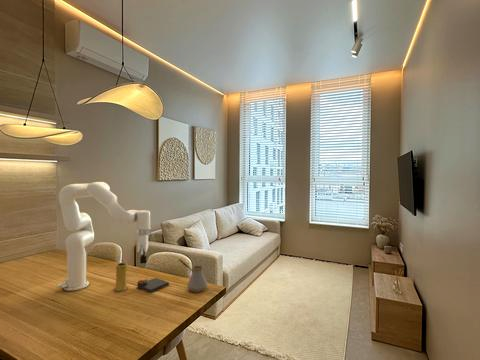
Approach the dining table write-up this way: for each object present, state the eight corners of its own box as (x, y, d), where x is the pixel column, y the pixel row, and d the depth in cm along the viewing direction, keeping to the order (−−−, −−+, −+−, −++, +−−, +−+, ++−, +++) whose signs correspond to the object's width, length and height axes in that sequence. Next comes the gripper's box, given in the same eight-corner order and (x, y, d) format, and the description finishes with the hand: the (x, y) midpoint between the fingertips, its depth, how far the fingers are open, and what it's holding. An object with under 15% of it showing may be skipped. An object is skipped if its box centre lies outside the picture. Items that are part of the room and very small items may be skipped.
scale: (149, 293, 146) (149, 287, 146) (135, 287, 153) (135, 281, 153) (168, 285, 157) (168, 279, 157) (154, 280, 164) (154, 274, 164)
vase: (117, 286, 154) (117, 262, 154) (128, 286, 154) (128, 262, 154) (113, 291, 148) (113, 266, 148) (124, 291, 148) (125, 266, 148)
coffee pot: (211, 288, 154) (211, 263, 154) (197, 295, 144) (198, 268, 144) (185, 280, 165) (185, 256, 165) (171, 286, 156) (171, 261, 156)
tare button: (142, 283, 152) (142, 280, 152) (139, 282, 153) (139, 279, 153) (145, 281, 154) (145, 279, 154) (143, 280, 155) (143, 278, 155)
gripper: (139, 229, 160) (138, 259, 160) (134, 234, 145) (134, 267, 145) (151, 229, 161) (151, 258, 162) (148, 234, 147) (148, 266, 147)
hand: (143, 262), depth 154 cm, fingers closed
